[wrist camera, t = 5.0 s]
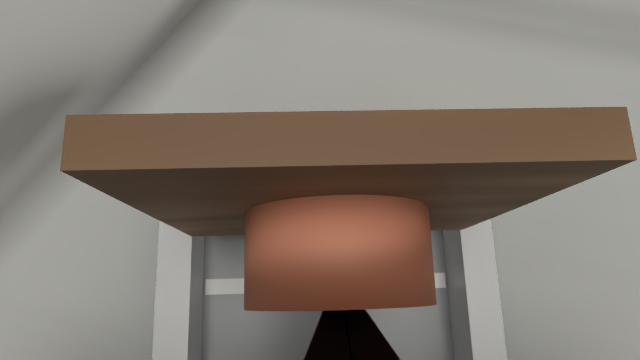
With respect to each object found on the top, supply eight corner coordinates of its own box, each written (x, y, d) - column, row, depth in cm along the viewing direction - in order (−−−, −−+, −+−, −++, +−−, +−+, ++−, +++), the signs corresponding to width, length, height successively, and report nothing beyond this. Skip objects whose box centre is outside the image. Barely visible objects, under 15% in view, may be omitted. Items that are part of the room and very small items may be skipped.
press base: (504, 560, 15) (553, 625, 12) (157, 578, 15) (120, 650, 12) (461, 143, 18) (491, 115, 15) (177, 149, 18) (151, 120, 15)
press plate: (469, 298, 13) (664, 306, 6) (188, 307, 13) (43, 325, 6) (459, 203, 14) (626, 107, 7) (192, 209, 14) (66, 114, 6)
